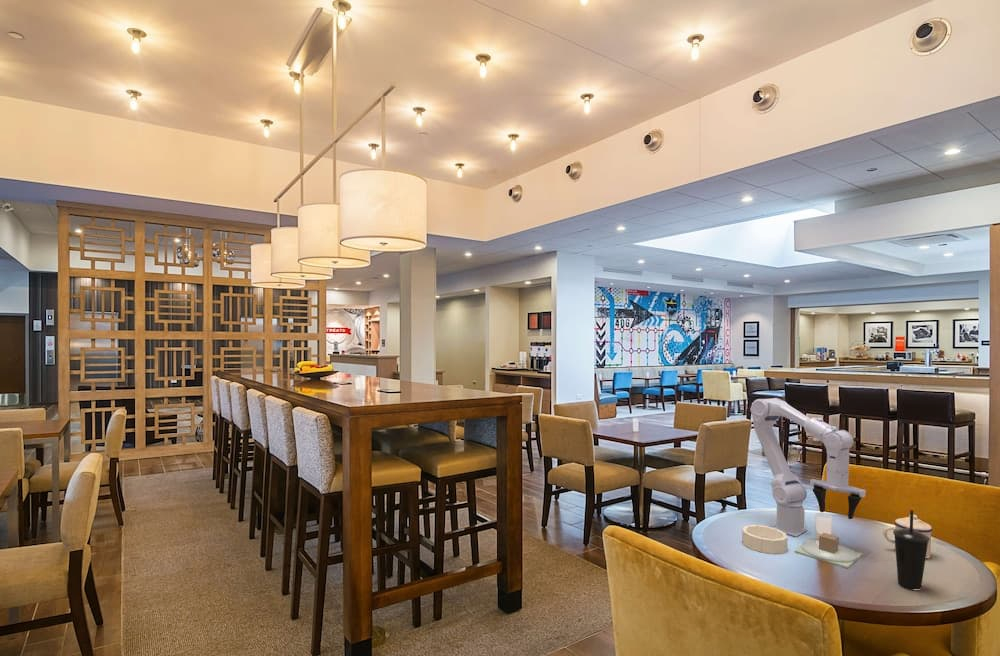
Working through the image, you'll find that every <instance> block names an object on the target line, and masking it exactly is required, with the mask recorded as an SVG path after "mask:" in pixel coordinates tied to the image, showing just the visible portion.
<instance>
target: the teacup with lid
mask: <svg viewBox="0 0 1000 656" xmlns="http://www.w3.org/2000/svg"><path fill="white" fill-rule="evenodd" d="M894 524H895V526H887V527H885V528H883V536H884V538H885V539H886V541H887V542H888V543H891V544H894V545H895V540H892V539H889V537H888V531H889V530H893V531H894V530H896V529H910V514H909V516H906V517H901V518H896V519H895V520H894ZM913 530H916V531H919V532H921V533H923V534H924V535H926V536H928V537H929V538H930V540H929V542H928V545H927V552H926V557H929V556H930V557H931V555H932V553H931V552H932V551H931V549H932V548H931V547H932V531H933V527H932V526H931V525H930V524H929V523H927V522H924V521H922V520H921V519H919V518H918V515H916V514H913ZM894 551H896V548H895V547H894Z"/></svg>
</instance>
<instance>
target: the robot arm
mask: <svg viewBox="0 0 1000 656" xmlns="http://www.w3.org/2000/svg"><path fill="white" fill-rule="evenodd" d="M749 410H750V413H751V415H752V421H753V425H752V426H753V429H754V431H755V434H756V436H757V438H758V440H759V443H760V446H761V448H762V451H763V453H764V456H765V458H766V461H767V463H768V465H769V468H770V470H771V473H772V475H773V478H772V480H771V481H770V486H771V489H772V490H771V491H772V497H773V499H774V500H775V504H776V525H775V526H773V527H772V528H775V529H778V530H780V531H782V532H784V533H786V535H789V536H793V537H799V536H800V535H802V534H803V533H805V532H806V531H808V528H806V527H805V508H804V506H803V501H805V500H806V499H807V497H808V491H807V489H806V487H805V485H803V483H802V482H801V480H800V478H799V477H798V476H797V475H796V474H794V473H792V471H791V469H790V467H789V464H788V462H787V459H786V457H785V455H784V452H783V450H782V447H781V446H780V442H779V441H778V438H777V436H776V434H775V430H774V429H773V427H774V425H775V423H776V422H777V421H778V420H779V419H780V418H781V417H783V418H785V419H788V420H790V421H791V422H794V423H795V424H797V425H799V426H801V427H803V429H804V432H805V433H806V434H807V435H809V436H811V437H812V438H815V439H816V440H818V441H820V442H821V443H823V446H824V447H825V449H826V458H827V459H826V480H821V479H814V478H812V479H810V480H809V481H810V482H809V483H810V484H809V486H810V487H813V488H812V492H813V494H814V495H815V498H816V500H817V503H818V507H819V511H820V513H824V512H825V511H826V496H827V490H830V491H834V492H840V493H844V494H847V495H848V494H849V495H848V496H847V500H848V501H847V502H848V514H847V515H848V516H847V517H848V518H847V519H848V520H852V519H854V515H855V511H856V508H857V507H858V504H859V503H860V501H861V500H862V499H863V498H865V497H866V494H867V490H866V489H864V488H863V489H862V488H859V487H855V486H851V485H850V484H849V478H850V477H849V475H850V474H849V472H850V449H852V447H853V446H854V442H855V440H854V438H853V435H852V434H851V433H850V432H848V431H847V430H845V429H838V427H836V426H834V425H830V424H829V423H827V422H825V421H824V419H823V418H821V417H808V416H807V415H805V414H804V413H802V412H801V411H800V410H797V409H796V408H794V407H792V406H791V405H790V404H788V403H787V401H784V400H782V399H781V398H779V397H773V398H758V399H755V400H754V401H753V402H752V404H751V406H750V409H749Z"/></svg>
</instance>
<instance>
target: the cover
mask: <svg viewBox="0 0 1000 656" xmlns="http://www.w3.org/2000/svg"><path fill="white" fill-rule="evenodd" d="M818 537H819V538H818V541H819V545H817V544H816V539H813V540H811V539H810V540H811V541H809V540H806V541H804V542H802V543H801V546H802V549H803V550H804V551H805V552H806V553H808V554H810V555H812V556H814V557H816V558H819V559H823V560H827V561H832V562H841V563H848V562H853V561H855V560H856V558H857V555H856V553H855V552H856V551H855V550H852V549H851V548H849V547H847V546H844V545H841V544H839V543H840V542H839V540H840V537H839V536H837V535H833V534H829V533H826V532H823V533H821V534H820V535H819V536H818ZM854 551H855V552H854Z"/></svg>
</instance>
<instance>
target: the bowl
mask: <svg viewBox="0 0 1000 656" xmlns="http://www.w3.org/2000/svg"><path fill="white" fill-rule="evenodd" d="M787 535H788V534H786V533H784V532H782V531H780V530H778V529H775V528H773V527H771V526H767V525H759V524H751V525H749V524H747V525H745V526H742V531H741V541H743V542H742V545H743V544H744V545H743V546H745V547H746V548H748V549H750V550H753V551H755V552H759V553H764V554H771V555H779V554H785V553H786V552H787V551H788V540H789V539H788V536H787Z"/></svg>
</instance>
